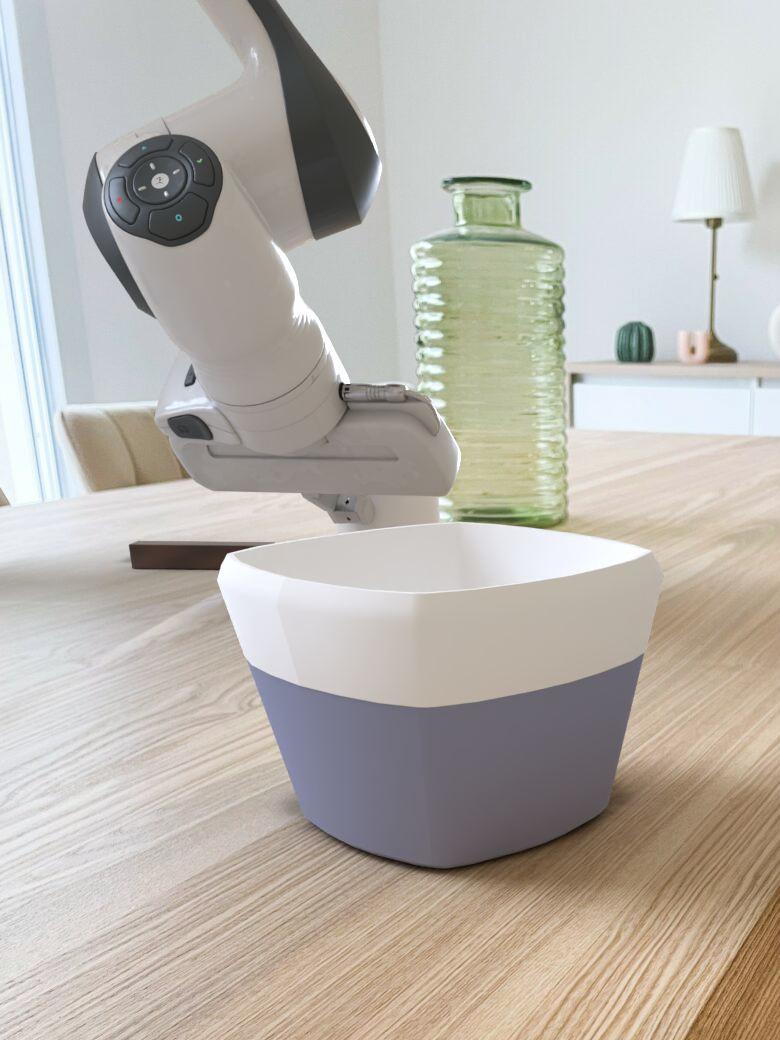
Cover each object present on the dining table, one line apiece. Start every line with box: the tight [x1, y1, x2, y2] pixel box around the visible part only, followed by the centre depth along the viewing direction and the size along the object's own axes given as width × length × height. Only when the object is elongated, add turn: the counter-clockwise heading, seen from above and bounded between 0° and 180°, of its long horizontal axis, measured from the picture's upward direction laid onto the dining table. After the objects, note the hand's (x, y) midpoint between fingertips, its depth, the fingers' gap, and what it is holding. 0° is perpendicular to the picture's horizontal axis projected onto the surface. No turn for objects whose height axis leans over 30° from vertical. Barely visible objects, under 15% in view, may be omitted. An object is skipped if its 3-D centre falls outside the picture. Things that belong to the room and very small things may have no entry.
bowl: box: [216, 521, 665, 869], centre depth 54 cm, size 15×15×11 cm
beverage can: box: [336, 495, 441, 534], centre depth 103 cm, size 8×8×12 cm
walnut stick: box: [128, 540, 277, 570], centre depth 110 cm, size 12×2×2 cm, turn 88°
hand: (355, 517), depth 99 cm, fingers closed, pressing on beverage can
